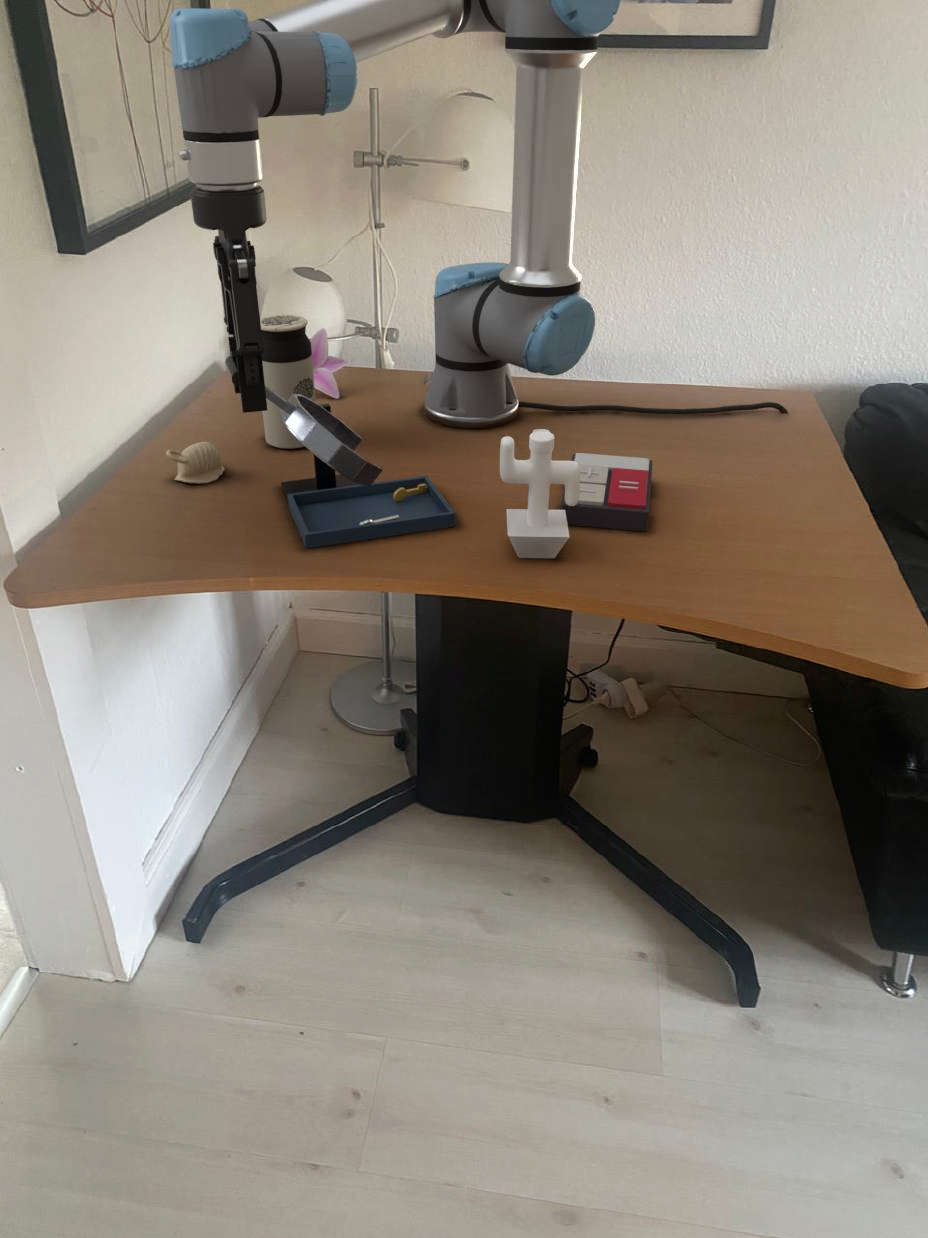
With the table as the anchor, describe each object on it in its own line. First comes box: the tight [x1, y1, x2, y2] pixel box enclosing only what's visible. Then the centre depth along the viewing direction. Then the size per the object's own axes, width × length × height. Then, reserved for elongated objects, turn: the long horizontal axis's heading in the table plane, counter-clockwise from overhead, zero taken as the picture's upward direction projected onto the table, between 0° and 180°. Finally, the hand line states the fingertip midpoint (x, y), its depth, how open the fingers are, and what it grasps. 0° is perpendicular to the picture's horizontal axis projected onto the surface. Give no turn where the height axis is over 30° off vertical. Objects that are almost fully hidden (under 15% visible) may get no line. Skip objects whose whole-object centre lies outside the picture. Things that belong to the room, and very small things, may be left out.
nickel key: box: [359, 515, 399, 525], centre depth 120 cm, size 6×2×1 cm
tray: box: [287, 475, 456, 549], centre depth 123 cm, size 19×12×2 cm, turn 109°
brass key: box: [393, 484, 428, 501], centre depth 128 cm, size 6×2×1 cm
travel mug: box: [260, 314, 317, 450], centre depth 141 cm, size 8×8×18 cm
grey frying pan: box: [224, 355, 384, 487], centre depth 115 cm, size 22×15×3 cm
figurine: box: [499, 428, 580, 559], centre depth 113 cm, size 7×9×15 cm
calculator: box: [560, 452, 653, 533], centre depth 127 cm, size 11×4×15 cm
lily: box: [309, 327, 348, 400], centre depth 162 cm, size 12×12×10 cm
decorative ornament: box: [165, 441, 226, 485], centre depth 132 cm, size 4×8×5 cm, turn 129°
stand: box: [280, 403, 359, 503], centre depth 127 cm, size 11×5×12 cm, turn 109°
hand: (250, 400), depth 111 cm, fingers closed on grey frying pan, 6 cm apart
